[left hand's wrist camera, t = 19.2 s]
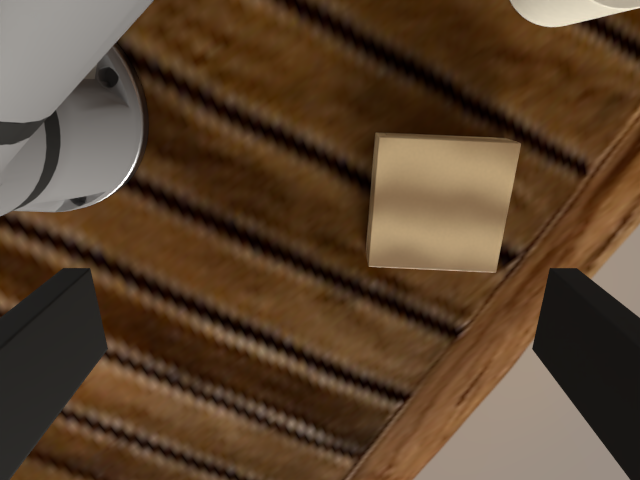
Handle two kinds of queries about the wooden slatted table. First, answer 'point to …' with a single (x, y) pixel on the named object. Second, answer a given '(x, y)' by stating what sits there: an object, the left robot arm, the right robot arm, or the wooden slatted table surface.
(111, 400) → the wooden slatted table surface
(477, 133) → the wooden slatted table surface
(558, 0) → the toy wooden mallet
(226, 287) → the wooden slatted table surface
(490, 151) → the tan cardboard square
